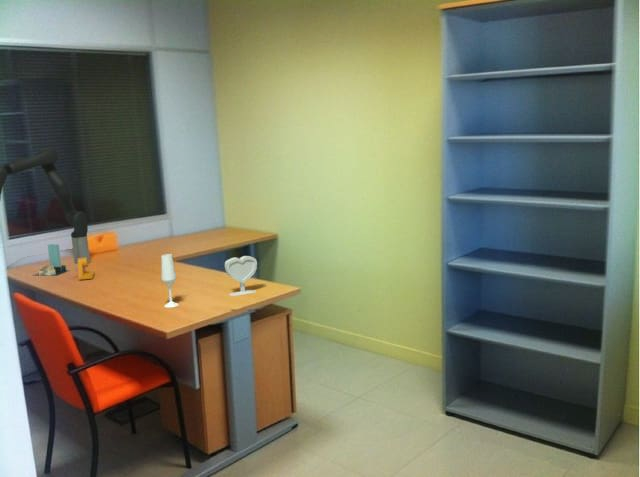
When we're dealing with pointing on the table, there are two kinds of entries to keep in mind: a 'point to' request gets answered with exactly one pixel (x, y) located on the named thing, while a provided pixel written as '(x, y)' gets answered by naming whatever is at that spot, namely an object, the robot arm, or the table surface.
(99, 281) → the table surface
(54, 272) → the block
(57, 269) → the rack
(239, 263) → the heart sculpture
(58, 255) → the teal rectangular slab
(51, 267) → the offcut top
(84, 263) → the bracket
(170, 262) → the champagne flute
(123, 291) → the table surface
